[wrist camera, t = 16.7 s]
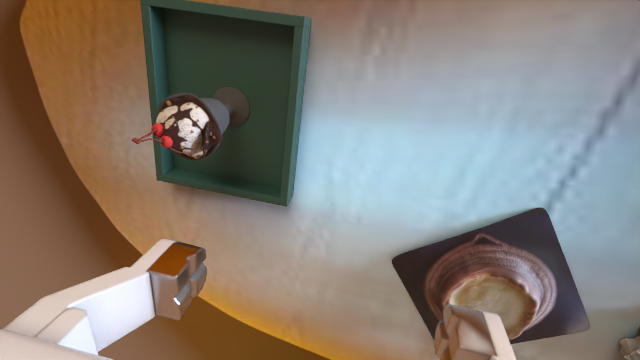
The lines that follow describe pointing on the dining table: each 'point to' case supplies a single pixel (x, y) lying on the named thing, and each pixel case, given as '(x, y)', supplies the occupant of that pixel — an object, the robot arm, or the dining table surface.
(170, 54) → the serving tray
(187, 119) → the sundae
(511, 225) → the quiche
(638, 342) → the egg carton
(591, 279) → the dining table surface
